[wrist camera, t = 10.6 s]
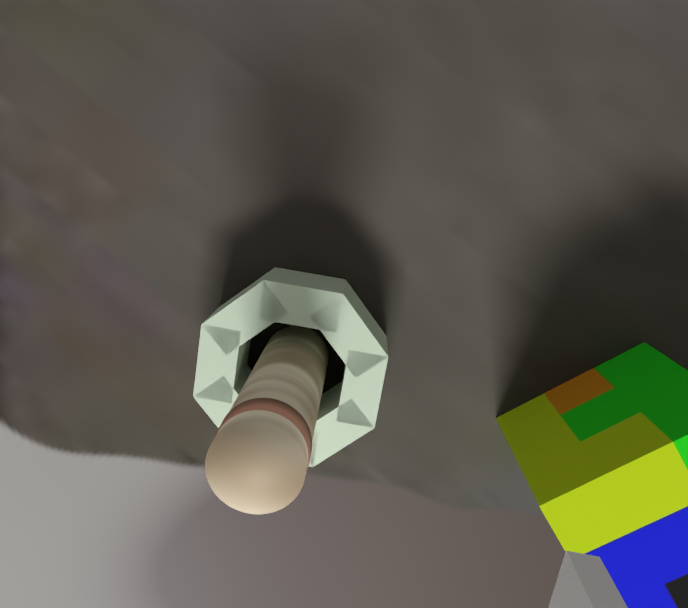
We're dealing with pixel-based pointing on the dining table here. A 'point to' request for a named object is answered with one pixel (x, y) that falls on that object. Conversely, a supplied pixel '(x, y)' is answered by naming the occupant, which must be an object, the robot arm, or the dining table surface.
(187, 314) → the dining table surface
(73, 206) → the dining table surface
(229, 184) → the dining table surface
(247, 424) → the striped rounded cylinder
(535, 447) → the puzzle toy
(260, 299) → the bead
